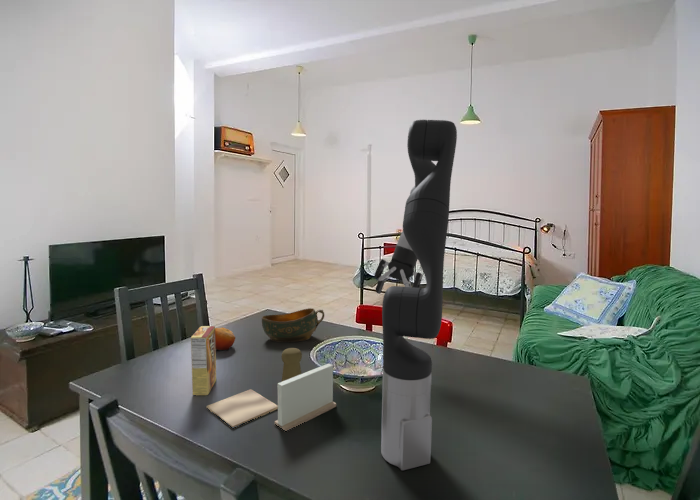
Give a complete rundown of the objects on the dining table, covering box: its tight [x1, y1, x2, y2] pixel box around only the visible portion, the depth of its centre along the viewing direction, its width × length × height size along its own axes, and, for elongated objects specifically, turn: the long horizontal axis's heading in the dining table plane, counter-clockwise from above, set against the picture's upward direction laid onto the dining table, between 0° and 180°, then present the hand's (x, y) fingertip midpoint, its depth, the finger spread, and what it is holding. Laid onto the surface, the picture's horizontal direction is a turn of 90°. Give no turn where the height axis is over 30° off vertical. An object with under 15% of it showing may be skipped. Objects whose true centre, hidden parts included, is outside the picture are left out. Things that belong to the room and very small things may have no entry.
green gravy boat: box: [261, 307, 325, 343], centre depth 142 cm, size 13×20×10 cm, turn 74°
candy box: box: [190, 325, 217, 396], centre depth 104 cm, size 9×4×15 cm, turn 6°
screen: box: [274, 363, 337, 432], centre depth 92 cm, size 15×4×10 cm, turn 136°
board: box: [206, 388, 278, 428], centre depth 95 cm, size 12×12×1 cm
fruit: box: [215, 327, 236, 351], centre depth 132 cm, size 8×8×8 cm
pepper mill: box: [280, 347, 303, 382], centre depth 103 cm, size 6×6×11 cm
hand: (390, 298), depth 123 cm, fingers open, 8 cm apart
